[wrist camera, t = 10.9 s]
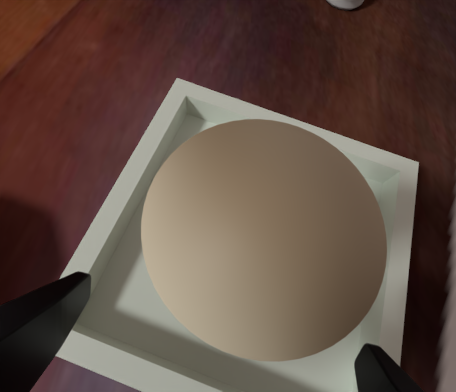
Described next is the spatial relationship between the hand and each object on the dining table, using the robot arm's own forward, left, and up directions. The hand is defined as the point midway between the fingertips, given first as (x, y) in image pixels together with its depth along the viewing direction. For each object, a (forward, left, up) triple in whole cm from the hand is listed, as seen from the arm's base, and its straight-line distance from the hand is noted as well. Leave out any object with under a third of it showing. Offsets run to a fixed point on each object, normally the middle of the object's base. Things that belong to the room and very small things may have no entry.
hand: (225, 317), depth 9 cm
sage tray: (+5, -1, -9) cm, 10 cm away
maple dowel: (+2, 0, -8) cm, 8 cm away
